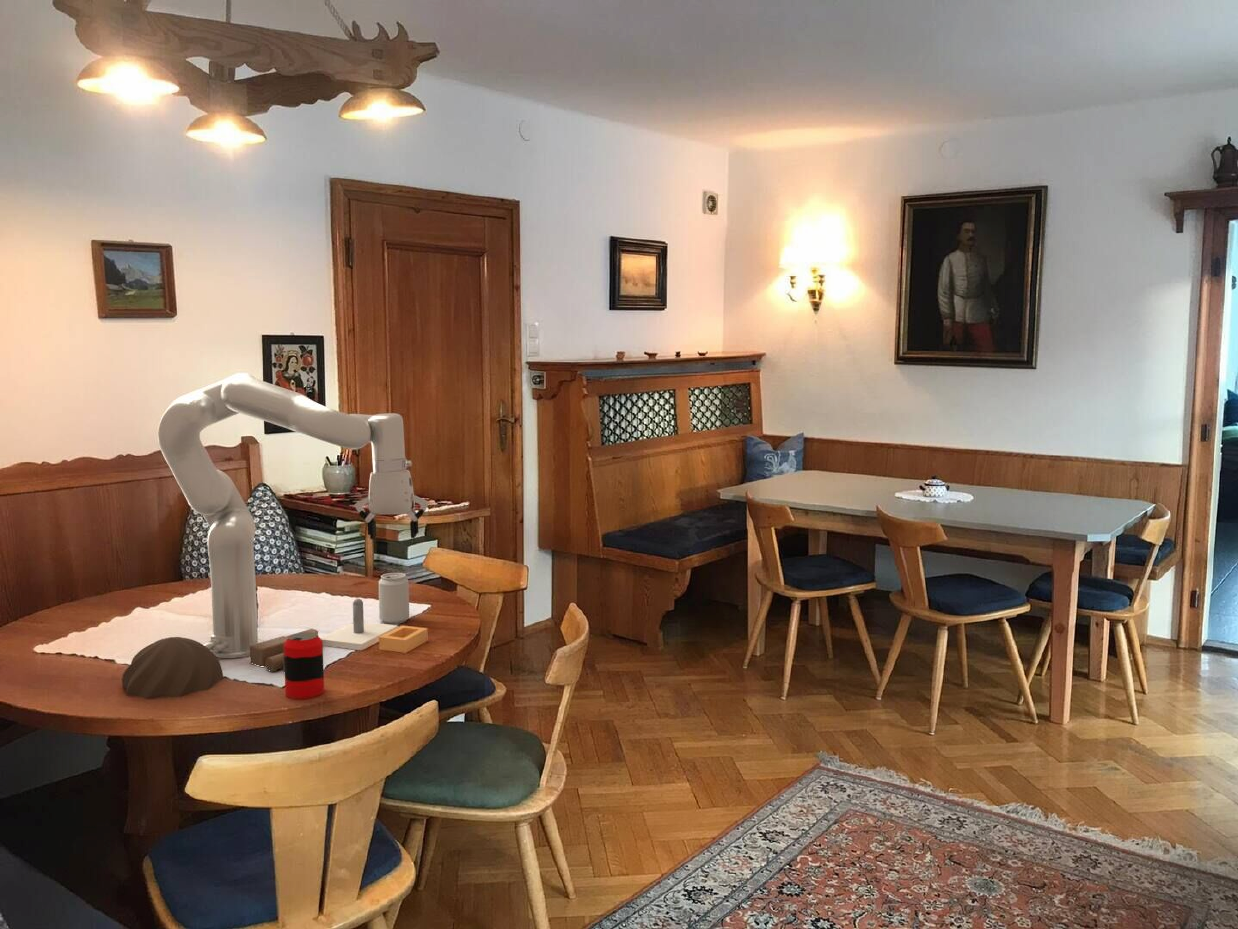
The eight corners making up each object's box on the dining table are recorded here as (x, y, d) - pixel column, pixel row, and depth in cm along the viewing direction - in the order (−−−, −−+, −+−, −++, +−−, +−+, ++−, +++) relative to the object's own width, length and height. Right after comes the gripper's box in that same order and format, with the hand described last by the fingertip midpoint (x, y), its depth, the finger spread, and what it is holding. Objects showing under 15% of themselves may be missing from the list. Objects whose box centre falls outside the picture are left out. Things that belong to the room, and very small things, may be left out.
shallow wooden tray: (405, 652, 235) (405, 640, 235) (379, 649, 238) (379, 637, 237) (427, 640, 245) (427, 628, 244) (402, 637, 247) (401, 625, 247)
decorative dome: (239, 683, 215) (237, 637, 214) (142, 707, 201) (139, 658, 200) (201, 662, 229) (199, 618, 228) (107, 683, 215) (104, 637, 214)
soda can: (278, 698, 206) (275, 640, 205) (298, 685, 214) (296, 629, 212) (311, 701, 204) (309, 643, 203) (331, 688, 212) (329, 632, 210)
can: (376, 618, 263) (375, 573, 261) (405, 615, 266) (404, 570, 265) (383, 626, 256) (381, 579, 255) (412, 622, 259) (411, 576, 258)
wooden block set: (245, 642, 226) (311, 623, 241) (246, 666, 227) (312, 646, 241) (295, 655, 216) (360, 635, 231) (296, 681, 217) (361, 659, 232)
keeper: (361, 650, 237) (360, 609, 236) (317, 645, 241) (316, 605, 239) (398, 631, 252) (397, 593, 251) (356, 626, 256) (355, 588, 254)
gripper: (429, 463, 244) (432, 533, 246) (357, 464, 244) (361, 535, 247) (422, 467, 237) (426, 540, 239) (348, 469, 237) (353, 541, 239)
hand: (393, 537), depth 243 cm, fingers open, 9 cm apart
